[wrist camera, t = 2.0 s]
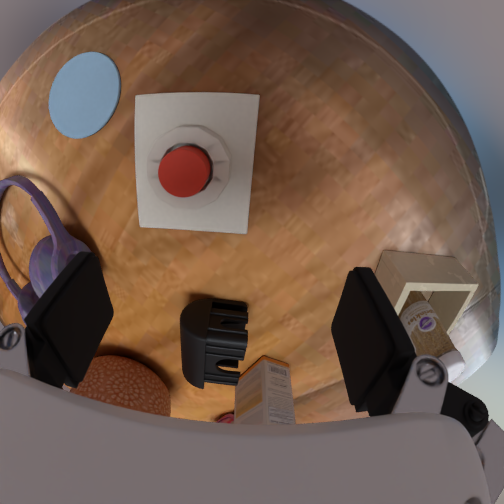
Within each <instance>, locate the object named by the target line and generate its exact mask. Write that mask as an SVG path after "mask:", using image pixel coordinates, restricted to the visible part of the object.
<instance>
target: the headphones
mask: <svg viewBox="0 0 504 504" xmlns="http://www.w3.org/2000/svg"><path fill="white" fill-rule="evenodd" d="M10 185H15V186H18V187H20V188H22V189H23V190H25V191H26V192H27V193H28V194H29V195H31V196H32V197H31V201H32V202H33V204H34V205H35V207H36V208H37V210H38V211H39V213H40V215H41V216H42V218H43V220H44V222H45V224H46V226H47V227H48V230H49V232H50V234H51V235H50V236H47V237H45V238H43V239H42V240H40V241H39V242H38V243H37V245H36V246H35V248H34V250H33V252H32V254H31V258H30V263H29V275H30V280H31V282H30V283H28V284H27V285H25V286H24V287H23V289H21V288H20V287H19V286H18V284H17V283H16V282H15V280H14V279H11V277H10V275H9V273H8V271H7V269H6V267H5V265H4V262H3V259H2V256H1V253H0V276H1V277H2V279H3V281H4V282H5V284H6V286H7V288H8V289H9V290H10V292H11V293H12V294H13V296H14V297H15V298H16V299H17V300H18V308H19V311H20V314H21V316H22V319H23V321H24V319H25V317H26V316H27V314H28V313H29V312H30V310H31V309H32V308H33V306H34V305H35V304H36V302H37V301H38V300H39V298H40V297H41V296H42V295H43V293H44V292H45V291H46V290H47V288H48V287H49V286H50V285H51V283H52V282H53V281H54V280H55V279H56V277H57V276H58V275H59V274H60V273H61V272H62V270H63V269H64V268H65V267H66V266H67V265H68V264H69V262H70V261H71V260H72V259H73V258H74V257H75V256H76V255H77V254H78V253H79V252H80V251H85V252H91V251H90V249H89V248H88V247H87V245H86V244H84V243H83V242H82V241H80V240H78V239H76V238H74V237H73V236H71V235H70V234H69V233H68V232H67V231H66V229H65V228H64V226H63V224H62V222H61V220H60V218H59V216H58V215H57V213H56V211H55V209H54V208H53V206H52V204H51V203H50V202H49V200H48V199H47V197H46V196H45V195H44V193H43V192H42V191H40V190H39V189H38V188H37V187H36V186H35V185H34V184H33V183H32V182H31V181H30V180H29V179H28V178H26V177H24V176H20V175H17V176H12V177H9V178H7V179H4V180H1V181H0V200H1V197H2V194H3V192H4V191H5V189H6V188H7V187H8V186H10ZM24 323H25V321H24ZM25 324H26V323H25ZM26 326H27V325H26Z"/></svg>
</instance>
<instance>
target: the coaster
mask: <svg viewBox="0 0 504 504" xmlns="http://www.w3.org/2000/svg"><path fill="white" fill-rule="evenodd" d="M120 91H121V80H120V74H119V71H118V69H117V66H116V65H115V63H114V62H113V61H112V60H111V59H110V58H109V57H108V56H106V55H104V54H102V53H98V52H86V53H82V54H80V55H77V56H76V57H74V58H72V59H71V60H70V61H68V62H67V63H66V64H65V65H64V66H63V67H62V68H61V70H60V71H59V73H58V74H57V76H56V78H55V80H54V82H53V84H52V87H51V91H50V96H49V112H50V116H51V119H52V122H53V123H54V125H55V127H56V128H57V129H58V130H59V131H60V132H61V133H62V134H63V135H65V136H67V137H70V138H76V139H78V138H85V137H88V136H91V135H93V134H95V133H96V132H98V131H99V130H100V129H102V128H103V127H104V126H105V125H106V123H107V122H108V121H109V120H110V118H111V117H112V115H113V113H114V111H115V109H116V107H117V104H118V101H119V97H120Z"/></svg>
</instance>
